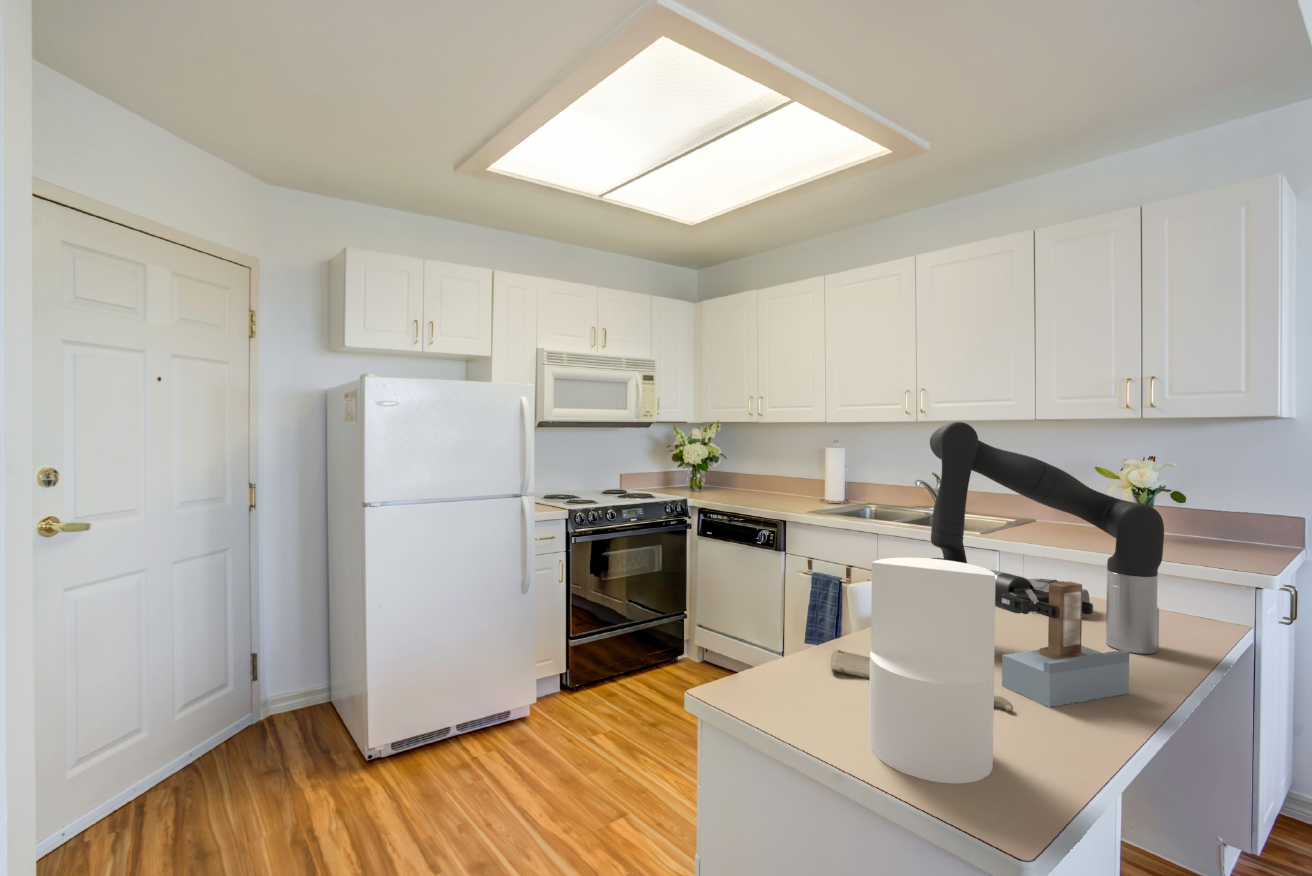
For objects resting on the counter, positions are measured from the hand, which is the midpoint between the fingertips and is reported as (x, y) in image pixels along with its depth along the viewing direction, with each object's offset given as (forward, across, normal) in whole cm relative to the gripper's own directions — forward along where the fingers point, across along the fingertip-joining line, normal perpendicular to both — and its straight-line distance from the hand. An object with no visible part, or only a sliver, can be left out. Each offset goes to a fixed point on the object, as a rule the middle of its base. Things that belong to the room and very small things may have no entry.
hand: (1075, 611), depth 117 cm
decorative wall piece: (-17, -24, +16) cm, 33 cm away
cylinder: (+9, -42, +16) cm, 46 cm away
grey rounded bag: (-45, +48, +16) cm, 68 cm away
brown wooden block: (-2, 0, +10) cm, 10 cm away
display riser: (-2, 0, +16) cm, 16 cm away
